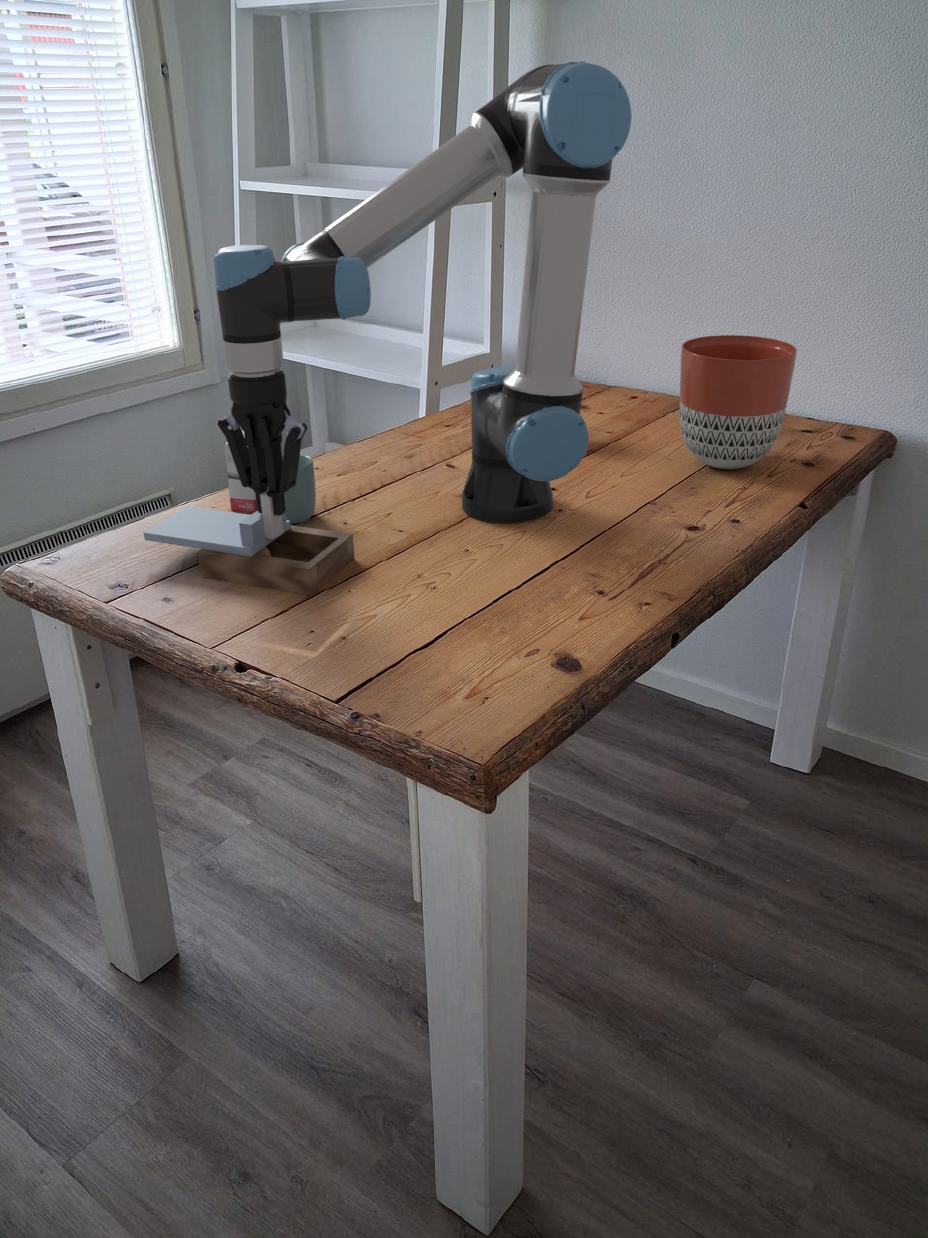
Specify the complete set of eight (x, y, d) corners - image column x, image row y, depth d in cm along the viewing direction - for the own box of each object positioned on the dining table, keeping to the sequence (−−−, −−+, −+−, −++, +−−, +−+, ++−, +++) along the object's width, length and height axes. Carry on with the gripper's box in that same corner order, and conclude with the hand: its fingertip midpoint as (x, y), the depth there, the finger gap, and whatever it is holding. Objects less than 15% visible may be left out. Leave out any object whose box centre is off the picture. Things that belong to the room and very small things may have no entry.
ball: (275, 562, 148) (273, 543, 146) (264, 570, 145) (262, 551, 144) (258, 559, 149) (255, 541, 147) (247, 567, 146) (244, 548, 145)
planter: (661, 475, 180) (671, 355, 170) (683, 443, 195) (693, 331, 185) (773, 488, 173) (790, 364, 163) (786, 454, 189) (802, 338, 179)
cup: (326, 514, 166) (321, 456, 161) (304, 531, 159) (298, 471, 155) (284, 509, 168) (278, 451, 164) (261, 526, 162) (254, 467, 157)
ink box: (259, 514, 166) (250, 445, 161) (230, 513, 167) (221, 444, 162) (277, 496, 174) (270, 429, 168) (250, 494, 175) (242, 428, 169)
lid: (290, 527, 149) (287, 500, 147) (251, 556, 140) (247, 527, 138) (189, 513, 155) (184, 486, 153) (144, 540, 146) (139, 511, 144)
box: (354, 561, 149) (352, 533, 147) (311, 598, 138) (308, 569, 136) (250, 545, 155) (247, 518, 153) (201, 580, 144) (197, 551, 142)
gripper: (312, 367, 134) (327, 530, 145) (229, 360, 138) (249, 519, 149) (284, 380, 127) (301, 550, 138) (198, 373, 132) (221, 538, 143)
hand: (274, 534), depth 144 cm, fingers closed
